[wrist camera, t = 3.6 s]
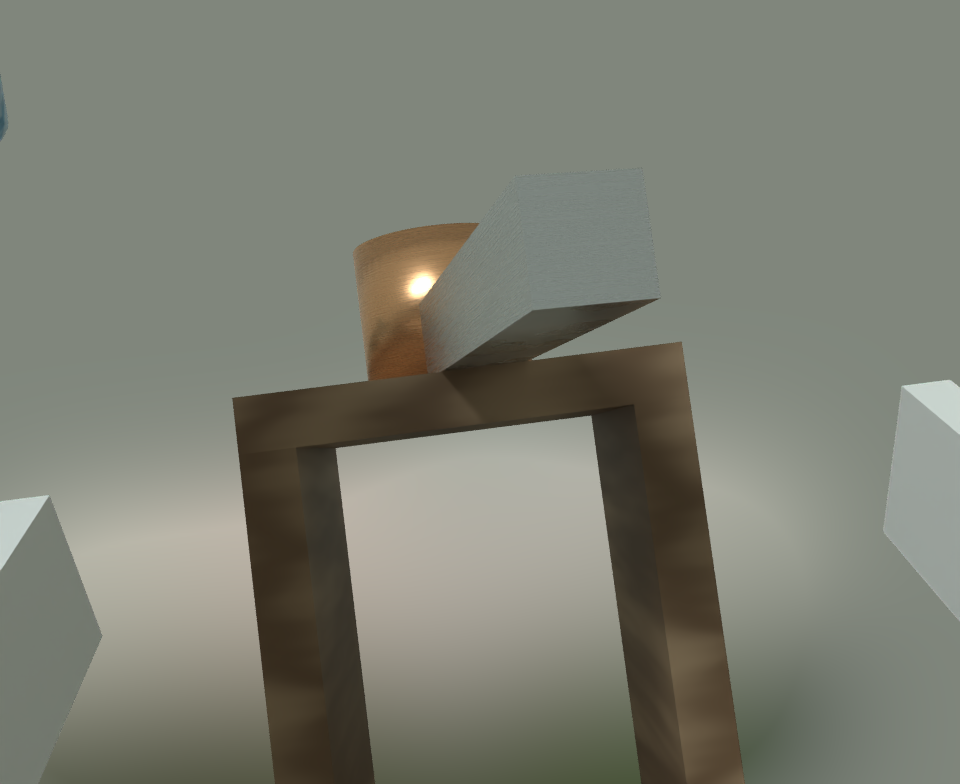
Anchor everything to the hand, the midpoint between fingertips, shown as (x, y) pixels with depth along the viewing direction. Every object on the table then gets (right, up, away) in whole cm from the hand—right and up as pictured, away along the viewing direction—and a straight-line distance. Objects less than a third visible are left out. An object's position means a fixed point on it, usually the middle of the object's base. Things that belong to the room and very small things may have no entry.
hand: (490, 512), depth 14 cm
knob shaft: (0, +3, +16) cm, 17 cm away
